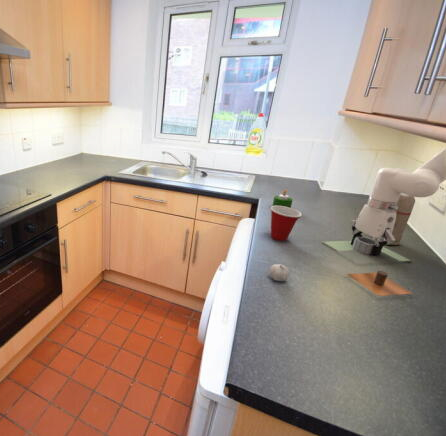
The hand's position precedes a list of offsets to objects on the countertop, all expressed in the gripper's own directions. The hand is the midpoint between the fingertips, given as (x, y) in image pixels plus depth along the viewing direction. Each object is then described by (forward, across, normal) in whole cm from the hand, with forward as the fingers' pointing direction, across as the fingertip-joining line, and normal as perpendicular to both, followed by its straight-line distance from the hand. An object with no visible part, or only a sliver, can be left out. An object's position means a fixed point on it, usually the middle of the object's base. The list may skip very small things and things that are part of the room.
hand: (364, 249), depth 108 cm
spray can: (+1, +7, -16) cm, 17 cm away
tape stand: (+1, -20, +15) cm, 25 cm away
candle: (+1, +46, +2) cm, 46 cm away
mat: (+1, 0, 0) cm, 1 cm away
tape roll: (0, 0, 0) cm, 0 cm away
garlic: (+1, -14, +43) cm, 45 cm away
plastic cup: (+1, +13, +24) cm, 28 cm away
